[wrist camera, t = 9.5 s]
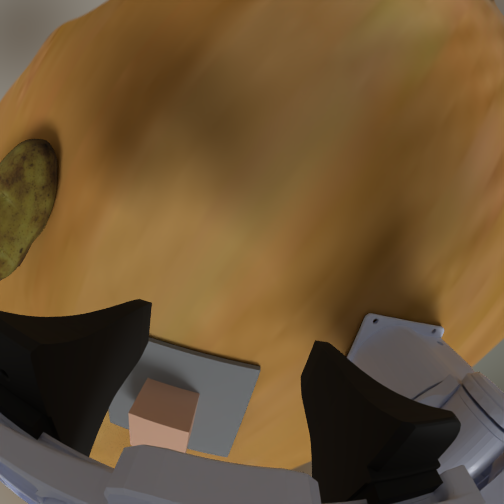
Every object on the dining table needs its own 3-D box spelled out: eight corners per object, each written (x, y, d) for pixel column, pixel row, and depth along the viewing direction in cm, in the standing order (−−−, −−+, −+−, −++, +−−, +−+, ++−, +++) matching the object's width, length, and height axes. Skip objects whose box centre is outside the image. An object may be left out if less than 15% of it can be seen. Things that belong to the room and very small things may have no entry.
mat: (260, 366, 22) (260, 370, 21) (227, 453, 25) (227, 457, 24) (107, 322, 22) (104, 324, 21) (112, 418, 24) (110, 422, 24)
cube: (199, 393, 22) (189, 432, 17) (192, 425, 23) (183, 461, 18) (147, 377, 22) (128, 412, 17) (146, 411, 23) (130, 444, 18)
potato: (92, 202, 19) (24, 211, 12) (25, 279, 21) (-27, 305, 13) (56, 130, 18) (-6, 118, 10) (-5, 216, 20) (-56, 227, 12)
